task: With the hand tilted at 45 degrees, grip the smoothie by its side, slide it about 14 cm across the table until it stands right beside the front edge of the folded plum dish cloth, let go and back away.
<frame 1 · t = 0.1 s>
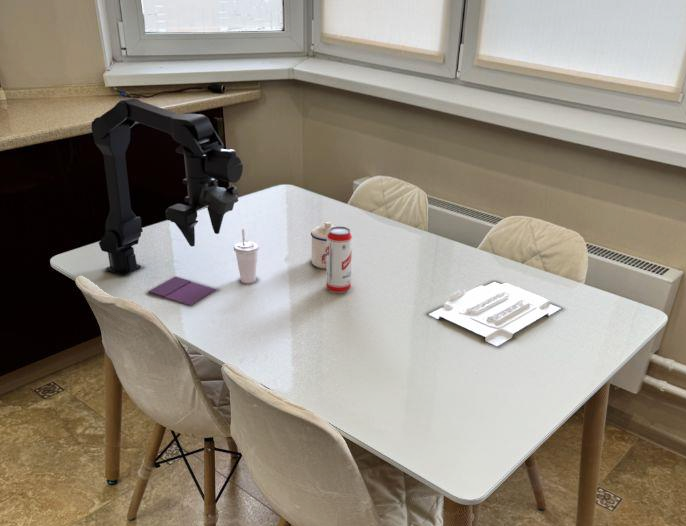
hand: (204, 239, 165), 15 cm above the table, tool pointing down, fingers open, 9 cm apart
smoothie: (248, 280, 180), on the table
dish cloth: (182, 291, 173), on the table
beer can: (338, 289, 178), on the table
tray: (495, 312, 171), on the table
teacup with lid: (331, 262, 192), on the table
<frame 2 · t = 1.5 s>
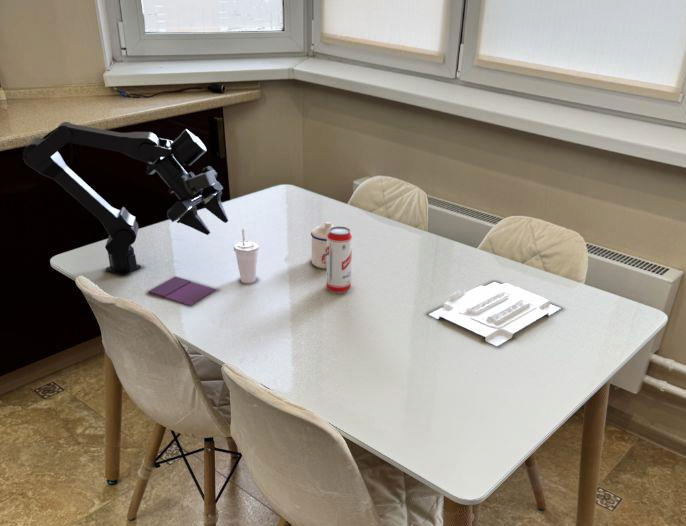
hand: (218, 227, 175), 13 cm above the table, tool tilted 45°, fingers open, 9 cm apart
nothing on the table moved.
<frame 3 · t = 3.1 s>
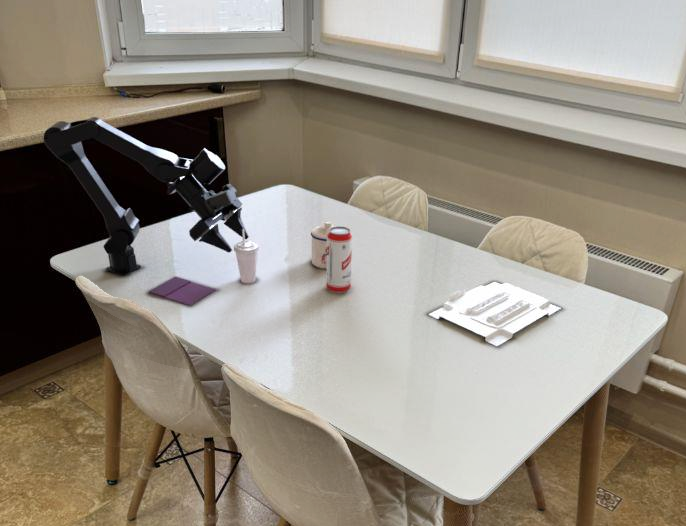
hand: (239, 244, 176), 10 cm above the table, tool tilted 45°, fingers open, 9 cm apart
nothing on the table moved.
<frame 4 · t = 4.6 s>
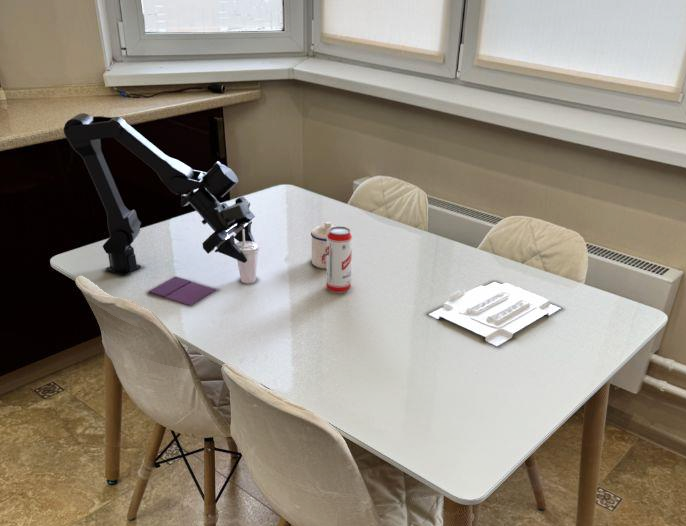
hand: (251, 257, 176), 7 cm above the table, tool tilted 45°, fingers closed on smoothie, 6 cm apart
smoothie: (248, 280, 180), on the table, touching gripper
everything else where it was.
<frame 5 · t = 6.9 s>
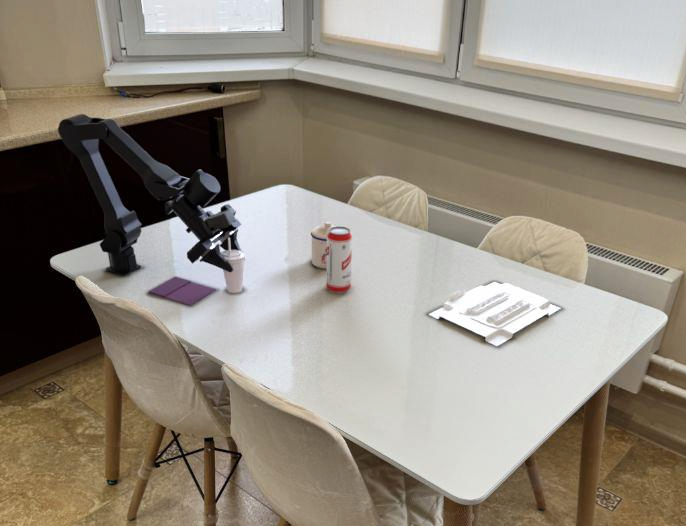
hand: (238, 266, 171), 7 cm above the table, tool tilted 45°, fingers closed on smoothie, 6 cm apart
smoothie: (234, 290, 175), on the table, touching gripper
everything else where it was.
when the fingers open (7 cm above the table, at t = 9.2 s): smoothie stays where it is, on the table.
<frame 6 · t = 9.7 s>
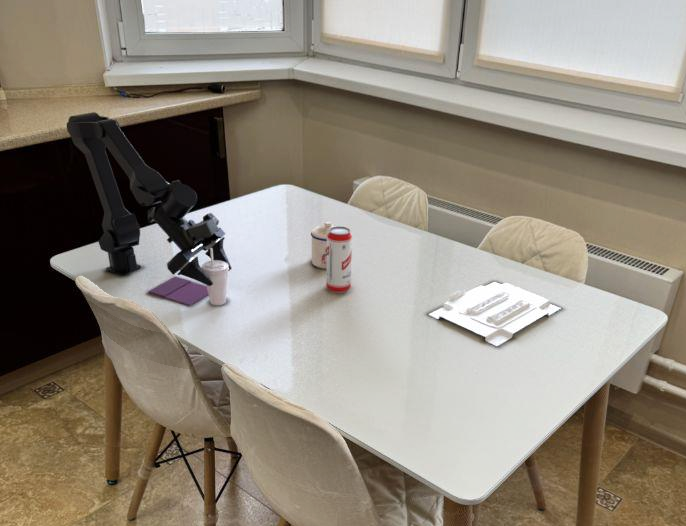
hand: (221, 277, 165), 7 cm above the table, tool tilted 45°, fingers open, 9 cm apart
smoothie: (218, 302, 170), on the table
everything else where it was.
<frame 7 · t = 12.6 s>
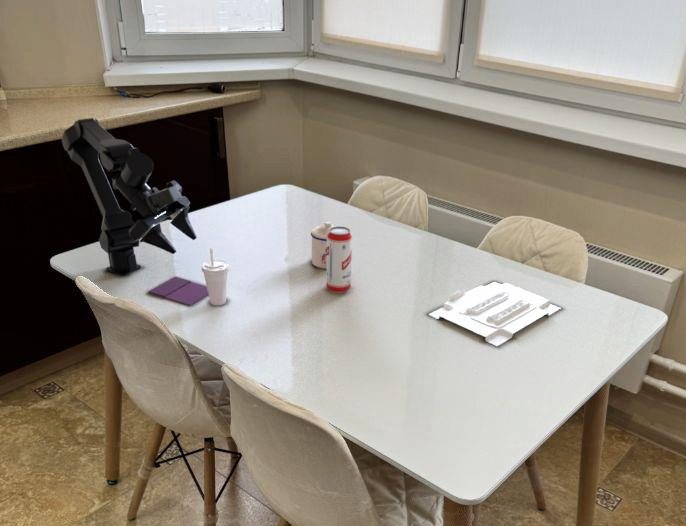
hand: (185, 245, 164), 14 cm above the table, tool tilted 45°, fingers open, 9 cm apart
nothing on the table moved.
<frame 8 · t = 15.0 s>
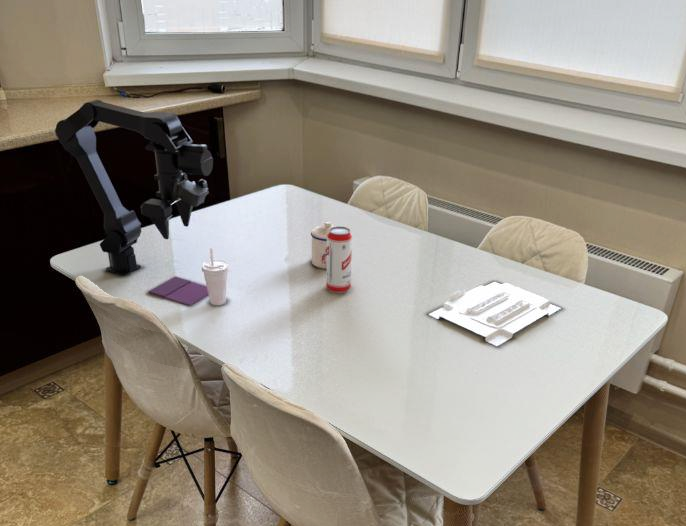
hand: (176, 232, 172), 13 cm above the table, tool pointing down, fingers open, 9 cm apart
nothing on the table moved.
at the end: smoothie inside the target area on the table beside the dish cloth (1.1 cm from its centre), on the table; smoothie tilted 0°; the gripper is holding nothing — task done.
